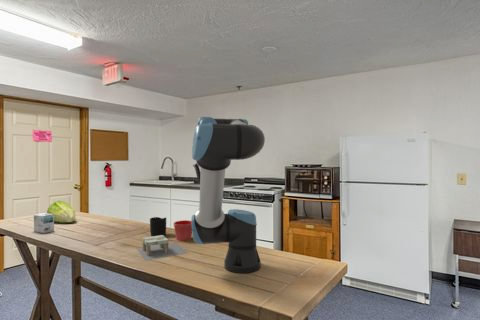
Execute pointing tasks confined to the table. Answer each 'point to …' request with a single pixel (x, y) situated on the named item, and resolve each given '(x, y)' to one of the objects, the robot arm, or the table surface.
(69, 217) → the lettuce
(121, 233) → the table surface
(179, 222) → the flower pot
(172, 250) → the mat
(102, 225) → the table surface
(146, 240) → the stool
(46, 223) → the light bulb box
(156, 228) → the pen holder
